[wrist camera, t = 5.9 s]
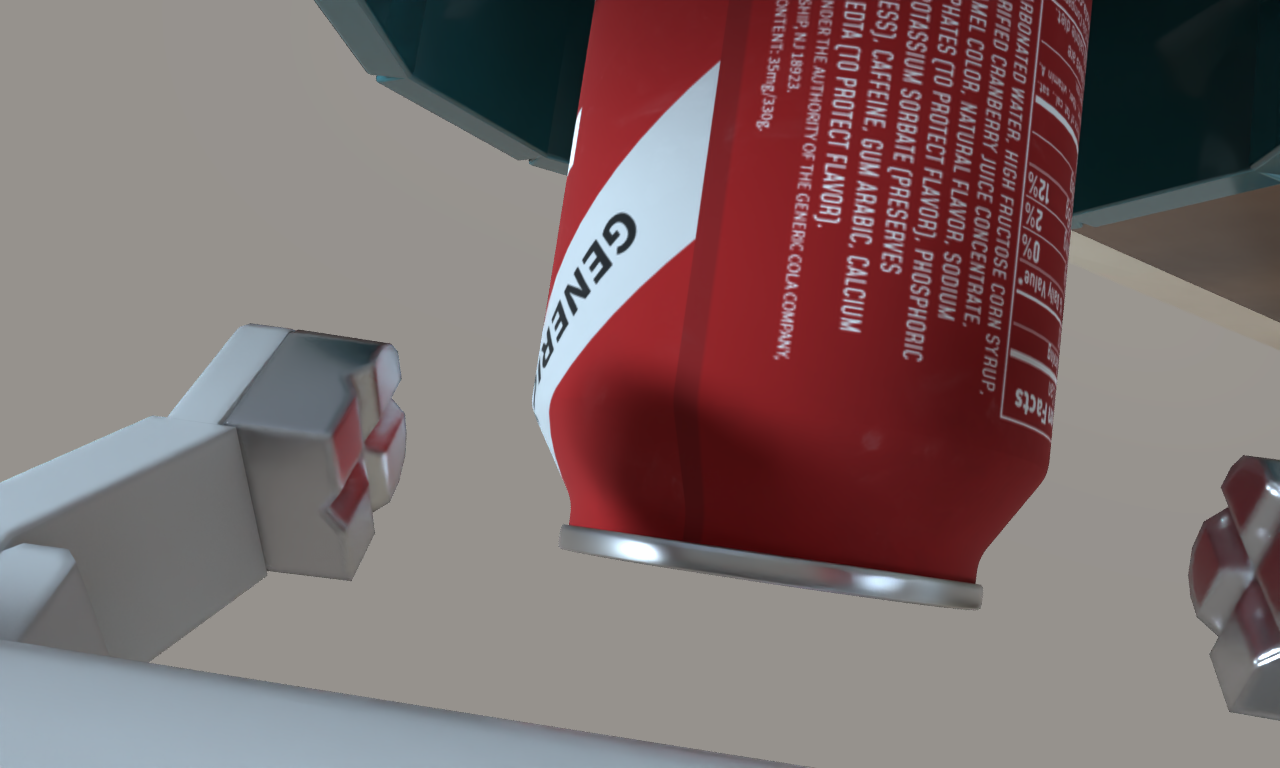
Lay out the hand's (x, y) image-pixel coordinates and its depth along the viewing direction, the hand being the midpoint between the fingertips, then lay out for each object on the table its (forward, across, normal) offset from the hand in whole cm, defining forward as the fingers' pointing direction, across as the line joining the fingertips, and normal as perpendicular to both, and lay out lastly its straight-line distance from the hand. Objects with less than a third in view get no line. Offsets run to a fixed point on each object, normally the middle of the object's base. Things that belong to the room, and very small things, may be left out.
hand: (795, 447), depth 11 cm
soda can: (+10, 0, -5) cm, 11 cm away
